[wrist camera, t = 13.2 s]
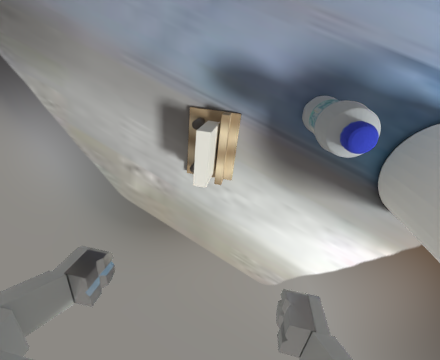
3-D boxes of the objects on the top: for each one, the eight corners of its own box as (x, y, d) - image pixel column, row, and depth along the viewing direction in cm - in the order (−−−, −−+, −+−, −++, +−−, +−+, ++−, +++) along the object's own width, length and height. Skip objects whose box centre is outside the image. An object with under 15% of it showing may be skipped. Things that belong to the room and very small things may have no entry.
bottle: (292, 120, 42) (316, 153, 24) (314, 86, 39) (360, 94, 21) (322, 137, 42) (368, 182, 24) (346, 104, 39) (419, 127, 21)
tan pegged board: (191, 106, 44) (185, 109, 40) (241, 113, 43) (239, 117, 39) (188, 171, 50) (182, 178, 46) (231, 178, 49) (229, 186, 45)
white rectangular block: (208, 120, 43) (196, 130, 35) (220, 122, 43) (211, 132, 35) (204, 167, 48) (193, 185, 40) (215, 168, 47) (206, 187, 39)
